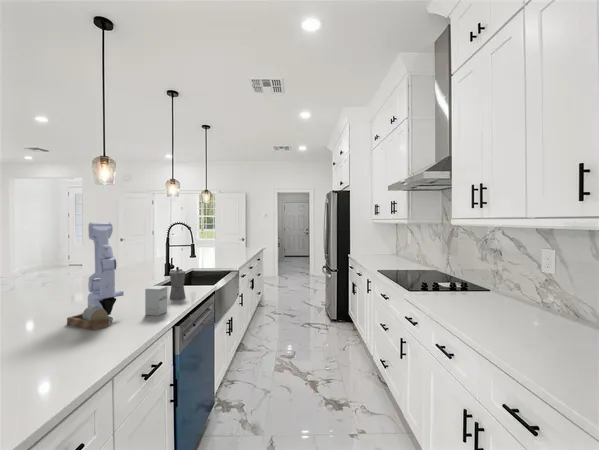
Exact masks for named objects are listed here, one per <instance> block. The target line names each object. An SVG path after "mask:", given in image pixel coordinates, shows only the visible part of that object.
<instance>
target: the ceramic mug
mask: <svg viewBox="0 0 599 450" xmlns="http://www.w3.org/2000/svg"><path fill="white" fill-rule="evenodd" d="M82 314H83V319H84V320H90V321H95V322H96V321H99V320H103V319H106V318H107V319H109V323H110V322H112V321H114V317H112V316H110V315H108V314H107V312H106V311H105V310H104V309H102V308H100V307H98V306H96V305H92V306H89V307H88V306H87V307H86V308H85V309H84V310H83V313H82Z"/></svg>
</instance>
